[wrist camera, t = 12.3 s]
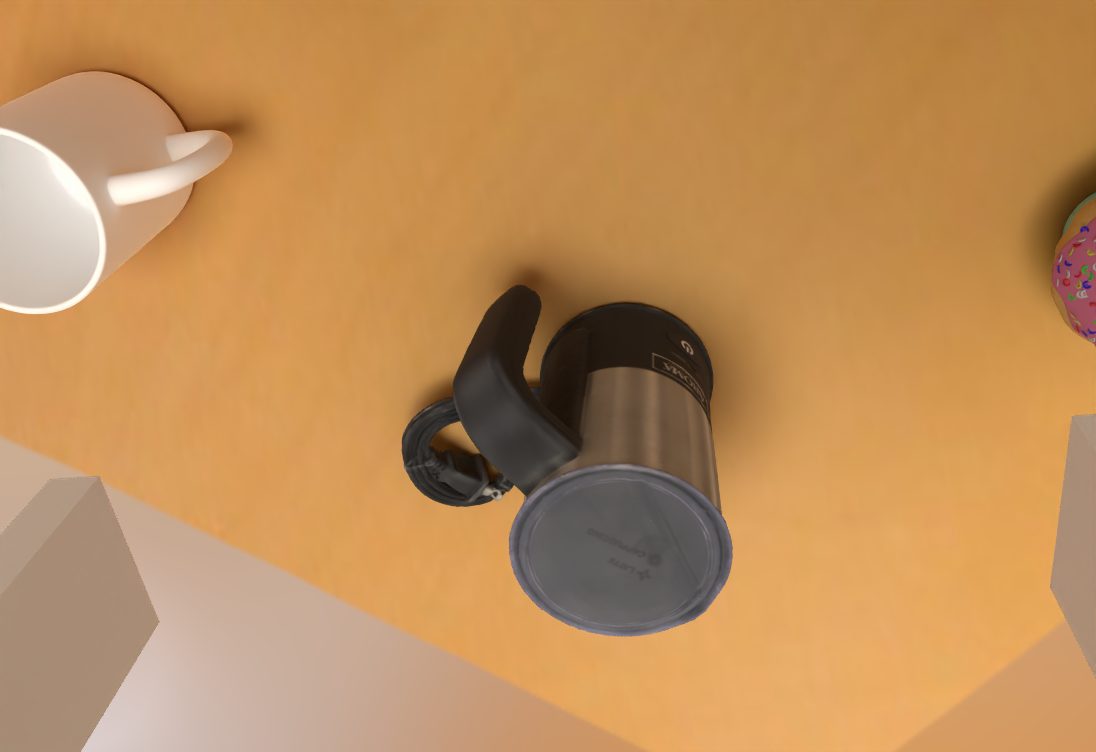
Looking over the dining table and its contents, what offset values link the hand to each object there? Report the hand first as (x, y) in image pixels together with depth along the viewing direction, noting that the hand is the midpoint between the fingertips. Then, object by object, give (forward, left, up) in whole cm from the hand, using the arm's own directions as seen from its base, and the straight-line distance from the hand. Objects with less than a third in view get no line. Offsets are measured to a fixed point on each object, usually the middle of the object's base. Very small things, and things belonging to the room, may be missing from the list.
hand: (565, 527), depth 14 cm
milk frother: (+6, +20, -37) cm, 42 cm away
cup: (+24, +3, -37) cm, 44 cm away
